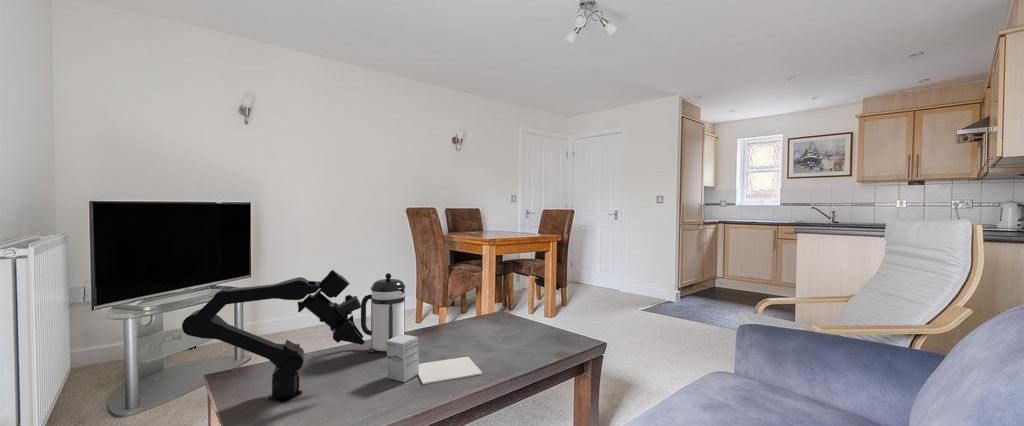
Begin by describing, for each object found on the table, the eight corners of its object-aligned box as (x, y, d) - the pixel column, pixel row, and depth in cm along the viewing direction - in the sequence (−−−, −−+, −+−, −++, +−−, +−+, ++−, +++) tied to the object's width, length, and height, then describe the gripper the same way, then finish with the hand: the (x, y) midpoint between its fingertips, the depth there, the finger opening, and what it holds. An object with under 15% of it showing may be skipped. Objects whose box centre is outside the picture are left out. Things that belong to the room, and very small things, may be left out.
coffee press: (405, 341, 167) (405, 269, 167) (410, 354, 152) (410, 275, 152) (360, 346, 161) (360, 271, 160) (361, 360, 146) (361, 277, 145)
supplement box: (387, 379, 130) (385, 340, 130) (403, 370, 137) (401, 333, 136) (404, 383, 127) (402, 343, 126) (420, 373, 133) (418, 336, 133)
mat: (422, 384, 126) (422, 383, 126) (413, 366, 141) (413, 364, 141) (482, 374, 134) (482, 372, 134) (468, 357, 149) (468, 356, 149)
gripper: (345, 295, 116) (385, 328, 120) (343, 283, 133) (378, 313, 137) (315, 325, 113) (357, 358, 117) (317, 309, 130) (354, 339, 134)
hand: (363, 340), depth 127 cm, fingers open, 5 cm apart
